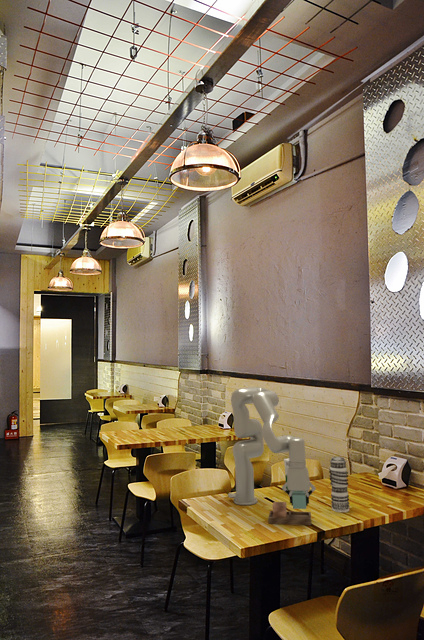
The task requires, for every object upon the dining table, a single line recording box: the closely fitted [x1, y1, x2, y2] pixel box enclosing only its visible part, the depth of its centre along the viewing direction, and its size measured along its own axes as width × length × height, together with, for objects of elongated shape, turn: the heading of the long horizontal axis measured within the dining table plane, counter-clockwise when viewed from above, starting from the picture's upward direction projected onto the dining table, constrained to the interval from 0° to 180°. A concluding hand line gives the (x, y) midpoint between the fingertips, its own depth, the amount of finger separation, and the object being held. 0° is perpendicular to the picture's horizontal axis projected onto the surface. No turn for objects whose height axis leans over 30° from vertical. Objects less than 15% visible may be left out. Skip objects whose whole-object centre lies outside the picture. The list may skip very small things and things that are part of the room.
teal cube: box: [292, 491, 307, 510], centre depth 216 cm, size 6×6×6 cm
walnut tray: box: [268, 501, 312, 526], centre depth 217 cm, size 19×10×8 cm, turn 79°
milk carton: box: [283, 457, 304, 492], centre depth 264 cm, size 9×9×20 cm
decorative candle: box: [328, 456, 350, 513], centre depth 232 cm, size 9×9×25 cm
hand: (299, 504), depth 216 cm, fingers closed on teal cube, 6 cm apart
